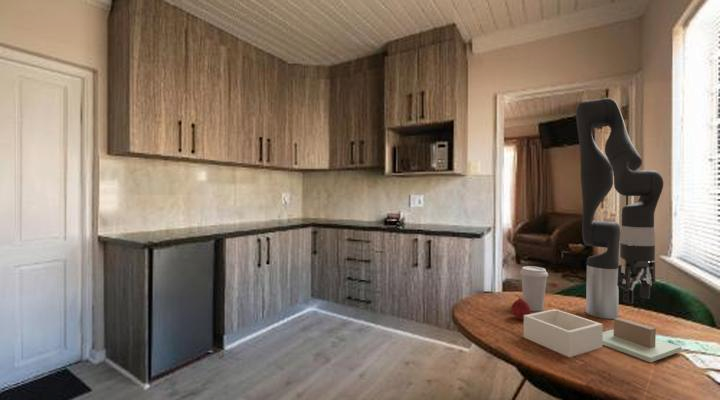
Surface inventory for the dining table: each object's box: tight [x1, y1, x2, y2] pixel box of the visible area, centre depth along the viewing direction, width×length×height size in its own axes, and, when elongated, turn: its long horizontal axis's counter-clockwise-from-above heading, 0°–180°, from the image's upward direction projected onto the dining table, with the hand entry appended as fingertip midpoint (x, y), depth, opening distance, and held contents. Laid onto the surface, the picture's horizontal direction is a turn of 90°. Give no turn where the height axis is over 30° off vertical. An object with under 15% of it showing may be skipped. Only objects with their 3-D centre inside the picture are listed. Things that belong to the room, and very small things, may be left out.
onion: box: [511, 296, 531, 321], centre depth 118 cm, size 6×6×8 cm
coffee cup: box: [519, 265, 549, 312], centre depth 130 cm, size 10×10×15 cm
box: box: [523, 308, 604, 358], centre depth 99 cm, size 14×14×7 cm
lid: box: [602, 316, 682, 363], centre depth 97 cm, size 15×15×7 cm
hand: (636, 300), depth 97 cm, fingers open, 8 cm apart
